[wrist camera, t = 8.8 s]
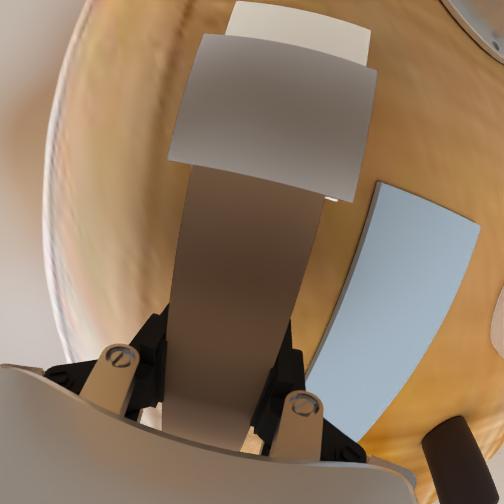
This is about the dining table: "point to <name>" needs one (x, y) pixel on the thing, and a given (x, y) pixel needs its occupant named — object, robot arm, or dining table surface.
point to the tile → (300, 30)
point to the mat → (389, 306)
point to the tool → (251, 216)
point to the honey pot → (498, 325)
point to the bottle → (458, 465)
